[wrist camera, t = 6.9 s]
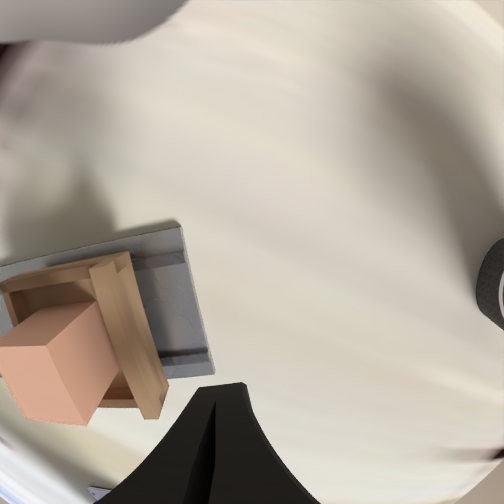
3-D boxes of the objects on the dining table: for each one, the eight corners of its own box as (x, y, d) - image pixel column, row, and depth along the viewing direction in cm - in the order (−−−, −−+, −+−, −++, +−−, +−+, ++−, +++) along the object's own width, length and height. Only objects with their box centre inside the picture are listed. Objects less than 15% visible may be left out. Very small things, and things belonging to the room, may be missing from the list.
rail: (215, 369, 18) (213, 385, 16) (-17, 372, 18) (-27, 381, 16) (181, 226, 16) (175, 230, 15) (-51, 280, 16) (-63, 286, 14)
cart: (172, 375, 17) (158, 419, 13) (68, 379, 17) (42, 413, 13) (135, 247, 15) (104, 265, 11) (27, 269, 15) (-12, 288, 11)
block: (120, 367, 15) (86, 425, 10) (65, 369, 15) (25, 418, 10) (96, 300, 14) (46, 345, 9) (41, 308, 14) (-12, 346, 9)
